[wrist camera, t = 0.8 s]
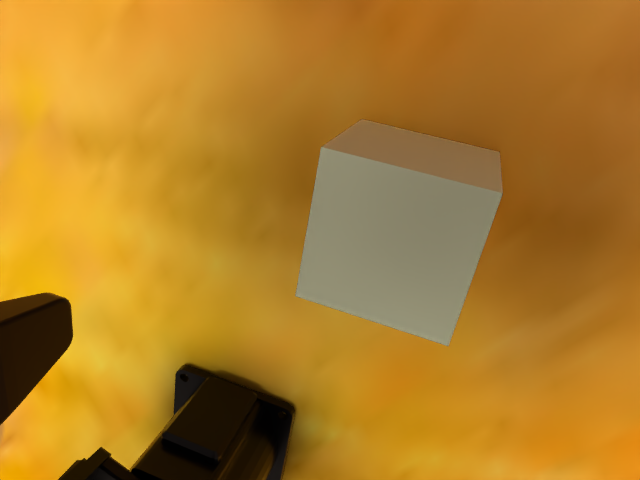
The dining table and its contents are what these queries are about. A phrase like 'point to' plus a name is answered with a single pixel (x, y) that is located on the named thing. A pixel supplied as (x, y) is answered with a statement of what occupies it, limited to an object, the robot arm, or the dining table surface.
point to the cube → (398, 227)
